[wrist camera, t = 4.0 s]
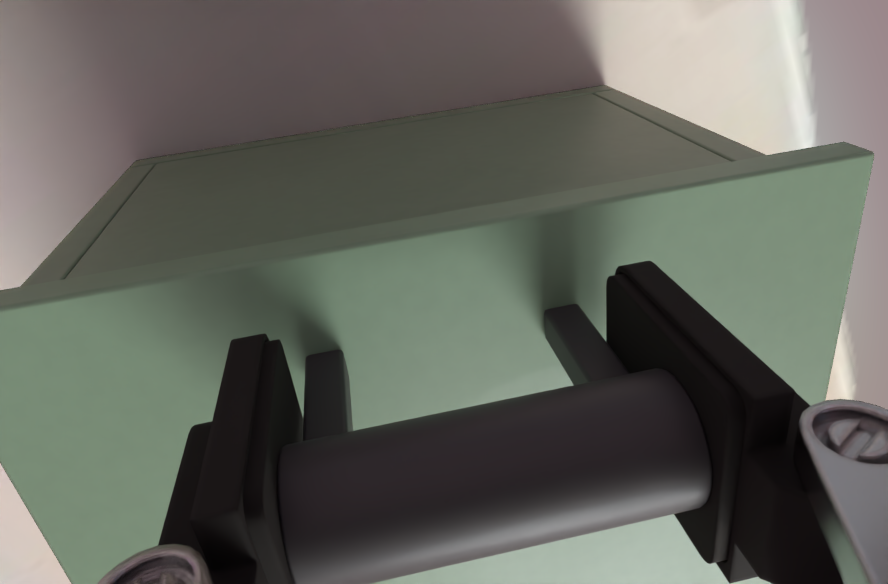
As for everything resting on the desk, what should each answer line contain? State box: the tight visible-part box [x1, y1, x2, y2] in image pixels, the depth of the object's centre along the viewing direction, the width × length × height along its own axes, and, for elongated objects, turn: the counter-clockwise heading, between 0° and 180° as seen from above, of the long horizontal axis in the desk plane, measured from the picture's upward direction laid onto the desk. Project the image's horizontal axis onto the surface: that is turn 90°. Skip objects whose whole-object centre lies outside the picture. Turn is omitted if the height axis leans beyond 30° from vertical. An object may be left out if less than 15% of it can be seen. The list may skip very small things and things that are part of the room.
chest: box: [20, 85, 766, 287], centre depth 21 cm, size 14×17×12 cm
